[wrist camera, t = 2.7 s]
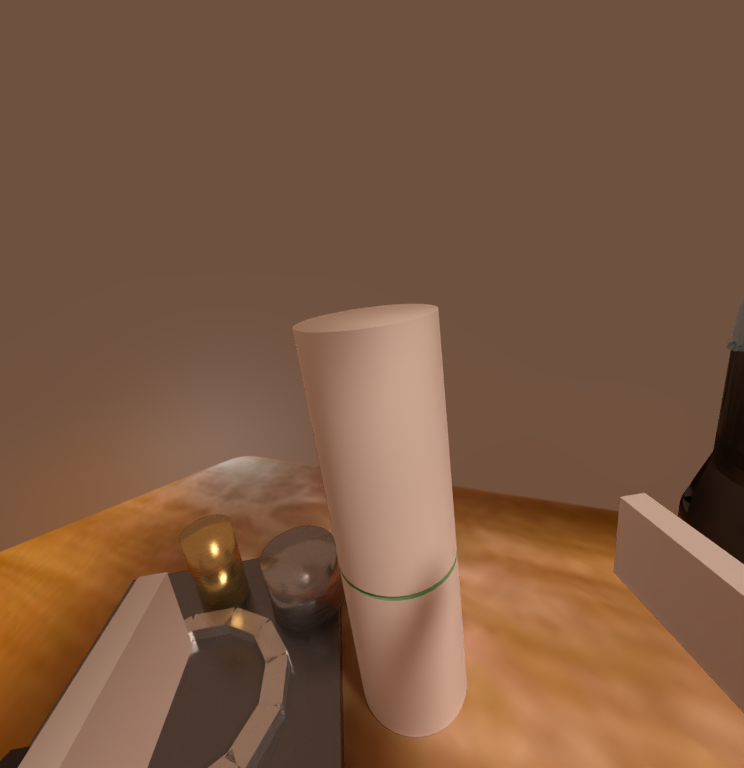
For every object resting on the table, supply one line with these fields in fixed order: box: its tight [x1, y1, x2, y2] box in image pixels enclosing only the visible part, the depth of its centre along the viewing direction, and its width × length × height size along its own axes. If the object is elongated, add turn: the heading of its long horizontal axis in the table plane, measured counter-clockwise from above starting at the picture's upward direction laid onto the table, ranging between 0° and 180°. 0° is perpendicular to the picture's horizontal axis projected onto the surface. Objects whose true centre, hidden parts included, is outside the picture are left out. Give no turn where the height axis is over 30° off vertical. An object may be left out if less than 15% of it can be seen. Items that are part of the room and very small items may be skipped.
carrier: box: [28, 515, 344, 768], centre depth 28 cm, size 20×20×8 cm
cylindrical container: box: [293, 304, 467, 737], centre depth 23 cm, size 7×7×25 cm
